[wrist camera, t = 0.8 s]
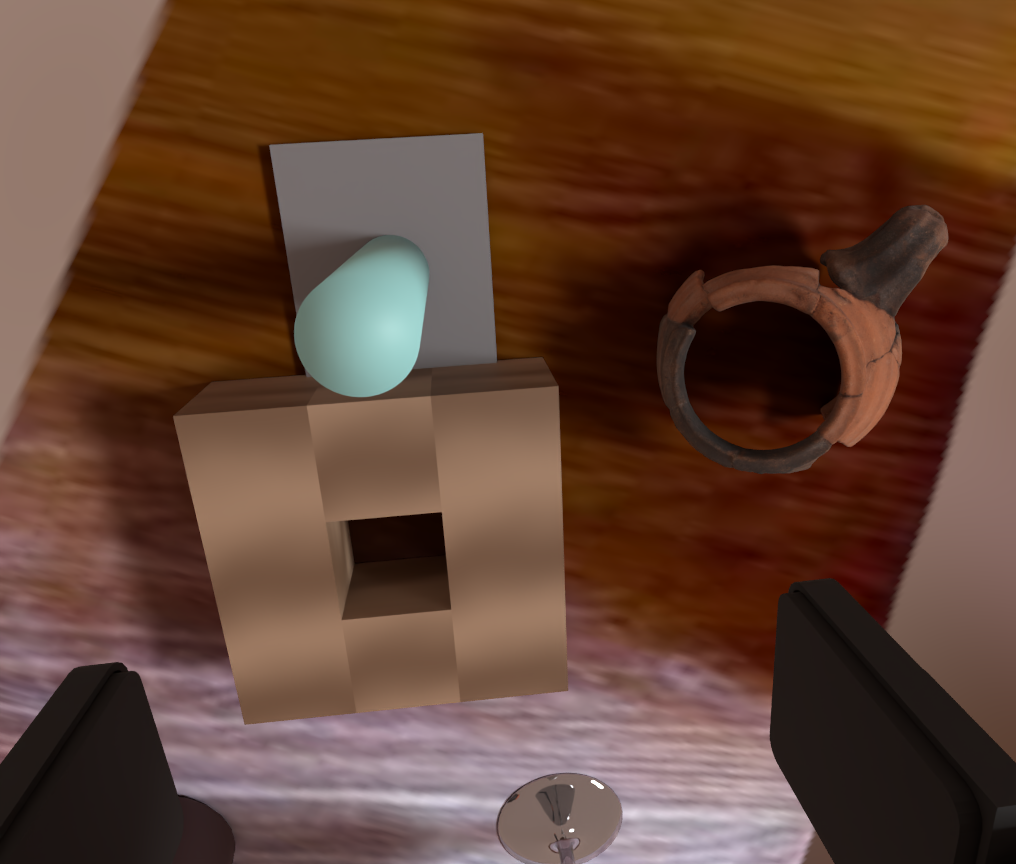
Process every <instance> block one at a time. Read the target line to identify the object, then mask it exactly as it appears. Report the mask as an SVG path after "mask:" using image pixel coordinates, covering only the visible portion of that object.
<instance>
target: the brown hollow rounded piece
mask: <svg viewBox="0 0 1016 864" xmlns="http://www.w3.org/2000/svg"><path fill="white" fill-rule="evenodd" d="M947 243H948V231H947V225H946V223H945V222H944V218H943V217H942V216H941V215H940V214H939V213H938V212H937V211H935V210H934V209H932V208H931V207H929V206H927V205H916V206H907V207H904V208H902V209H900V210H899V211H897V212H896V213H895V214H894V215H893V216H892V217H891V218H890V219H889V220H887V221H886V222H885V223H884V224H883V225H882V226H880V227H879V228H878V229H877V230H876V231H875V232H873V233H872V234H871V235H870V236H868V237H867V238H866V239H864V240H863V241H861V242H860V243H858V244H856V245H854V246H852V247H849V248H846V249H840V250H827V251H826V252H825V253H824V254H822V255H821V258H820V263H821V264H823V265H825V266H826V267H827V269H828V273H829V276H830V278H831V280H832V281H833V282H834V283H835V284H836V285H837V286H838V287H840V288H841V289H838V288H827V287H824V286H821V285H820V284H819V270H817V269H814V268H808V267H795V266H775V265H771V266H763V267H756V268H749V269H740V270H735V271H731V272H728V273H725V274H722V275H720V276H717V277H715V278H713V279H711V280H709V281H707V282H706V283H705V284H704V283H703V280H704V277H705V272H704V271H702V270H698V271H695V272H694V273H693V274H692V275H690V276H689V277H688V279H687V280H686V281H685V282H684V283H683V284H682V286H681V287H680V288H679V289H678V291H677V292H676V293H675V295H674V296H673V298H672V299H671V301H670V303H669V305H668V313H667V314H665V315H664V316H663V318H662V320H661V322H660V326H659V333H658V342H657V375H658V382H659V386H660V390H661V394H662V397H663V400H664V402H665V404H666V406H667V407H668V408H669V409H670V416H671V418H672V419H673V421H674V423H675V426H676V428H677V429H678V430H679V431H680V432H681V433H682V435H683V436H684V437H685V439H686V440H687V441H688V442H689V444H690V445H691V446H693V447H694V448H695V449H696V450H697V451H699V452H700V453H702V454H703V455H704V456H705V457H707V458H709V459H711V460H712V461H714V462H717V463H719V464H721V465H722V466H724V467H730V468H732V467H733V468H735V469H737V470H741V471H747V472H755V473H759V474H763V473H792V472H797V471H802V470H805V469H808V468H810V467H811V465H812V463H813V462H815V461H816V460H817V459H818V457H820V456H821V455H823V454H824V453H826V452H827V451H828V450H829V449H830V447H831V445H832V444H834V443H836V442H840V443H842V444H844V445H845V446H847V447H851V446H853V445H854V444H856V443H857V442H858V441H859V440H861V439H862V438H863V437H864V436H865V435H866V434H867V433H868V432H869V431H870V430H871V429H872V428H873V427H874V426H875V425H876V424H877V422H878V421H879V420H880V419H881V417H882V416H883V414H884V413H885V411H886V409H887V407H888V405H889V403H890V401H891V399H892V396H893V394H894V391H895V389H896V386H897V382H898V379H899V367H900V365H901V360H902V346H901V337H900V331H899V327H898V324H896V323H895V319H894V316H895V315H896V314H897V312H898V310H899V308H900V306H901V305H902V303H903V302H904V300H905V299H906V298H907V296H908V295H909V294H910V292H911V291H912V290H913V288H914V287H915V286H916V285H917V284H918V282H919V281H920V280H921V279H922V277H923V276H924V274H925V272H926V270H927V268H928V266H929V264H930V263H931V261H932V260H933V259H934V258H935V257H936V255H937V254H938V253H939V252H940V251H941V249H942V248H944V247H945V246H946V245H947ZM754 301H767V302H776V303H781V304H785V305H788V306H791V307H793V308H796V309H798V310H799V311H802V312H804V313H806V314H809V315H810V316H811V317H812V318H813V319H815V320H816V321H817V322H818V323H819V324H820V325H821V326H822V327H823V328H824V330H825V331H826V332H827V334H828V335H829V337H830V338H831V340H832V342H833V344H834V345H835V348H836V350H837V353H838V356H839V360H840V366H841V388H840V392H839V394H838V395H837V396H836V397H835V398H834V399H833V400H831V401H830V402H829V403H827V404H826V405H824V406H823V407H822V408H821V413H822V415H823V418H824V420H825V421H824V422H823V423H822V425H821V426H819V428H818V429H817V431H816V432H815V433H813V434H812V435H811V436H809V437H808V438H806V439H804V440H802V441H800V442H798V443H796V444H794V445H791V446H788V447H784V448H779V449H773V450H753V449H745V448H742V447H739V446H736V445H734V444H731V443H729V442H727V441H725V440H723V439H722V438H720V437H718V436H717V435H715V434H714V433H713V432H712V431H710V430H709V429H708V428H707V427H706V426H705V425H704V424H703V423H702V422H701V421H700V419H699V418H698V416H697V415H696V414H695V412H694V410H693V408H692V406H691V404H690V402H689V399H688V395H687V391H686V387H685V380H684V366H685V360H686V356H687V352H688V349H689V346H690V344H691V342H692V340H693V338H694V336H695V334H696V330H695V329H694V328H693V325H694V324H695V323H696V322H697V321H698V320H699V319H700V318H701V317H702V316H703V315H704V314H705V313H706V312H707V311H708V310H710V309H711V308H714V309H715V310H717V311H723V310H725V309H727V308H730V307H732V306H735V305H739V304H743V303H747V302H754Z"/></svg>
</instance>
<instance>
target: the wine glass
mask: <svg viewBox="0 0 1016 864" xmlns="http://www.w3.org/2000/svg"><path fill="white" fill-rule="evenodd" d="M621 823H622V807H621V803H620V801H619V799H618V797H617V795H616V794H615V793H614V791H613V790H612V789H611V788H610V787H608V786H607V785H606V784H605V783H603V782H601V781H599V780H598V779H595V778H593V777H590V776H587V775H581V774H574V773H562V774H553V775H549V776H545V777H542V778H539V779H536V780H534V781H532V782H530V783H528V784H526V785H524V786H523V787H521V788H520V789H519V790H518V791H516V792H515V793H514V794H513V795H512V796H511V797H510V798H509V799H508V800H507V802H506V803H505V805H504V806H503V808H502V810H501V813H500V815H499V820H498V834H499V837H500V840H501V842H502V844H503V846H504V847H505V849H506V850H507V851H508V852H509V853H510V854H511V855H512V856H513V857H514V858H516V859H517V860H519V861H521V862H523V863H525V864H582V863H585V862H587V861H589V860H591V859H593V858H595V857H597V856H598V855H599V854H601V853H602V852H603V851H605V850H606V849H607V848H608V847H609V846H610V845H611V844H612V842H613V841H614V839H615V838H616V837H617V834H618V832H619V830H620V827H621Z"/></svg>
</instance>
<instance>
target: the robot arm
mask: <svg viewBox="0 0 1016 864" xmlns="http://www.w3.org/2000/svg"><path fill="white" fill-rule="evenodd" d="M770 742H771V747H772V751H773V754H774V757H775V759H776V762H777V764H778V765H779V767H780V769H781V771H782V772H783V774H784V776H785V778H786V779H787V781H788V783H789V785H790V786H791V788H792V790H793V792H794V793H795V795H796V797H797V799H798V800H799V802H800V804H801V806H802V807H803V809H804V811H805V813H806V814H807V816H808V818H809V820H810V821H811V823H812V825H813V827H814V828H815V830H816V832H817V834H818V835H819V837H820V839H821V841H822V842H823V844H824V846H825V848H826V849H827V851H828V853H829V855H830V856H831V858H832V860H833V862H834V863H835V864H1016V763H1015V762H1014V761H1013V760H1012V759H1011V758H1010V757H1009V755H1008V754H1007V753H1006V752H1005V751H1003V749H1002V748H1001V747H1000V746H999V745H998V744H997V743H996V742H995V741H994V740H993V739H992V738H991V737H990V736H989V735H988V734H987V733H986V732H985V731H984V730H983V729H982V728H981V727H980V726H979V725H978V724H977V723H976V722H975V721H974V720H973V719H972V718H971V717H970V716H969V715H968V714H967V713H966V712H965V710H964V709H963V708H961V706H960V705H959V704H958V703H957V702H956V701H955V700H954V699H953V698H952V697H951V696H950V695H949V694H948V693H947V692H946V691H945V690H944V689H943V688H942V687H941V686H940V685H939V684H938V683H937V682H936V681H935V680H934V679H933V678H932V677H931V676H930V675H929V674H928V673H927V672H926V671H925V670H924V669H922V668H921V667H920V666H919V665H918V664H917V663H916V662H915V661H914V660H913V659H912V658H911V657H910V655H908V653H907V652H906V651H905V650H904V649H903V648H902V647H901V646H900V645H899V644H898V643H897V642H896V641H895V640H894V639H893V638H892V637H891V636H890V635H889V634H888V633H887V632H886V631H885V630H884V629H883V628H882V627H881V626H880V625H879V624H878V623H877V622H876V621H875V620H874V619H873V618H872V617H871V616H870V615H869V613H868V612H867V611H866V610H865V609H864V608H863V607H862V606H861V605H860V604H859V603H858V602H857V601H856V600H855V599H854V598H853V597H852V596H851V595H850V594H849V593H848V592H847V591H846V590H845V589H844V588H843V587H842V586H841V585H840V584H839V583H838V582H837V581H835V580H834V579H830V578H828V579H819V580H811V581H802V582H795V583H793V584H791V586H790V588H789V592H788V593H786V594H782V595H781V596H780V598H779V602H778V615H777V630H776V646H775V661H774V677H773V692H772V708H771V723H770ZM183 827H184V815H183V810H182V807H181V803H180V800H179V797H178V794H177V791H176V788H175V785H174V781H173V778H172V775H171V772H170V769H169V766H168V763H167V759H166V756H165V753H164V750H163V747H162V744H161V741H160V737H159V734H158V731H157V728H156V725H155V722H154V719H153V715H152V712H151V709H150V706H149V703H148V700H147V696H146V693H145V690H144V687H143V684H142V681H141V678H140V676H139V674H138V673H137V672H135V671H128V670H127V667H126V666H125V665H124V664H123V663H119V662H115V663H106V664H98V665H89V666H81V667H77V668H74V669H73V670H72V671H71V672H70V673H69V674H68V675H67V677H66V678H65V679H64V681H63V682H62V683H61V685H60V686H59V687H58V689H57V690H56V691H55V693H54V694H53V695H52V697H51V698H50V699H49V701H48V702H47V703H46V705H45V706H44V707H43V709H42V710H41V711H40V712H39V714H38V715H37V716H36V718H35V719H34V720H33V722H32V723H31V724H30V726H29V727H28V728H27V730H26V731H25V732H24V734H23V735H22V736H21V738H20V739H19V740H18V742H17V743H16V744H15V746H14V747H13V748H12V750H11V751H10V752H9V753H8V755H7V756H6V757H5V759H4V760H3V761H2V763H1V764H0V864H172V862H173V859H174V856H175V854H176V851H177V849H178V846H179V844H180V841H181V838H182V834H183Z"/></svg>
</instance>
